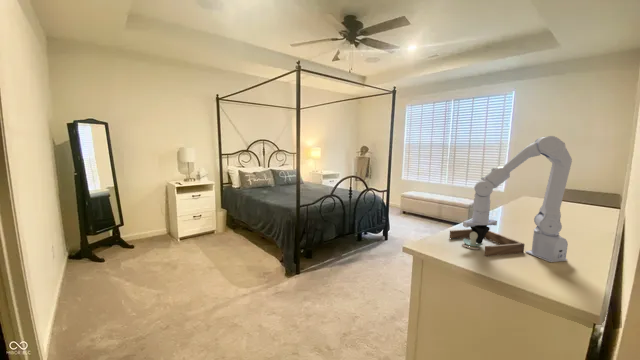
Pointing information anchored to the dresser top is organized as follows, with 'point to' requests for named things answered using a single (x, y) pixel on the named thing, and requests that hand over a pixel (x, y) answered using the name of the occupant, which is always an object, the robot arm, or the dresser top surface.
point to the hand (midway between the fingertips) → (478, 243)
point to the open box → (506, 243)
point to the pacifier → (472, 241)
